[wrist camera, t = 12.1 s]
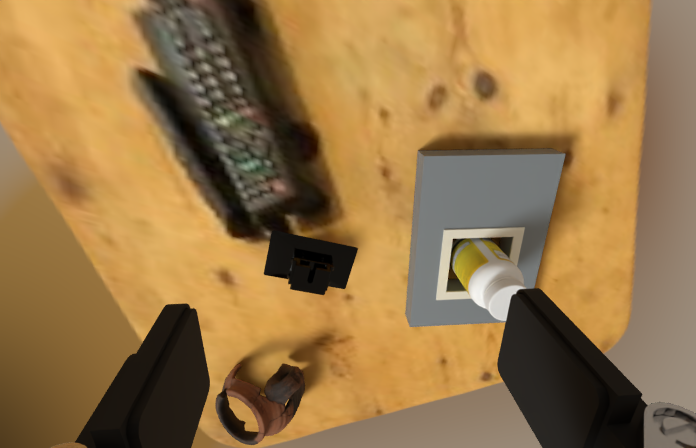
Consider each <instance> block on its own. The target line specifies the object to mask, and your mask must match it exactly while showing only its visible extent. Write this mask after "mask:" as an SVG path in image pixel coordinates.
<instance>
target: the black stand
mask: <svg viewBox="0 0 696 448" xmlns="http://www.w3.org/2000/svg"><path fill="white" fill-rule="evenodd" d="M357 250H358V248H356V247H351V246H346V245H341V244H337V243H332V242H327V241H322V240H317V239H312V238H307V237H303V236H298V235H293V234H288V233H283V232H278V231H272V234H271V239H270V244H269V250H268V255H267V260H266V265H265V270H264V275H268V276H274V277H279V278H285V279H289V280H288V284H291V286H290V289H292V290H297V291H303V292H309V293H314V294H320V295H325V291H327V288H328V286H330V287H336V288H341V289H345V288H346V285H347V282H348V278H349V275H350V272H351V269H352V266H353V263H354V260H355V256H356V253H357Z"/></svg>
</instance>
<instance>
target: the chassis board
mask: <svg viewBox="0 0 696 448" xmlns="http://www.w3.org/2000/svg"><path fill="white" fill-rule="evenodd" d="M564 159H565V153H562V152H560V151H557V150H554V149H552V148H548V149H485V150H422V151H418V156H417V169H416V182H415V195H414V209H413V222H412V235H411V248H410V261H409V274H408V287H407V300H406V313H405V314H406V317H407V320H408V323H409V326H410V327H419V326H439V325H459V324H479V323H499V322H506V321H501V320H498V319H496V318H494V317H493V316H492V315H491V314H490V312H489V311H488V310H487V309H485V308H483V307H480V306H479V305H477V304H476V303H475V302H474V301H473V300H472V298H471V297H470V295H469V294H468V292H467V291H466V289H465V288H464V286H463V285H462V283H461V282H460V280H459V279H448V273H449V265H450V257H451V249H452V241H453V239H460V238H490V237H501V240H500V245H499V248H500V249H501V250H502V251H503V252H504V253H505V254H506V255H507V256H508V258H509V259H510V260H511V261H512V262H513V263H514V264H515V265H516V266H517V267H518V268H519V269H520V271H521V273H522V275H523V279H524V286H525V287H526V288H527V289H532V288H534V287H535V282H536V278H537V274H538V270H539V265H540V261H541V257H542V253H543V248H544V244H545V240H546V235H547V231H548V227H549V223H550V218H551V214H552V210H553V206H554V201H555V197H556V193H557V188H558V184H559V180H560V176H561V171H562V167H563V163H564Z"/></svg>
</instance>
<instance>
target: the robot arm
mask: <svg viewBox="0 0 696 448" xmlns="http://www.w3.org/2000/svg"><path fill="white" fill-rule="evenodd" d="M497 364H498V371H499V373H500V376H501V377H502V379H503V381H504V382H505V384H506V386H507V387H508V389H509V391H510V393H511V394H512V396H513V397H514V400H515V401H516V403H517V405H518V406H519V408H520V410H521V411H522V413H523V415H524V417H525V418H526V420H527V422H528V424H529V425H530V427H531V429H532V431H533V432H534V434H535V435H536V437H537V439H538V441H539V443H540V444H541V446H542V448H696V413H694V412H692V411H690V410H687V409H685V408H683V407H680V406H677V405H674V404H671V403H663V402H657V403H651V404H650V405H647V404H646V403H645V402H644V401H643V400H642V399H641V396H642V393H641V392H640V391H639V390H638V389H637V388H636V387H635V386H634V385H633V384H632V383H631V382H630V381H629V380H628V379H627V378H626V377H625V376H624V375H623V374H622V373H621V372H620V371H619V370H618V368H617V367H616V366H615V365H614V364H613V363H612V362H611V361H610V360H609V359H608V358H607V357H606V356H605V355H604V354H603V353H602V352H601V351H600V350H599V349H598V348H597V347H596V346H595V345H594V344H593V343H592V342H591V341H590V340H589V339H588V338H587V337H586V335H585V334H584V333H583V332H582V331H581V330H580V329H579V328H578V327H577V326H576V325H575V324H574V323H573V322H572V321H571V320H570V319H569V318H568V317H567V316H566V315H565V314H564V313H563V312H562V311H561V310H560V309H559V308H558V307H557V306H556V305H555V304H554V302H553V301H552V300H551V299H550V298H549V297H548V296H547V295H546V294H545V293H544V292H543V291H542V290H540V289H538V288H532V289H519V290H518V291H517V292H516V294H513V295H512V296H511V300H510V304H509V309H508V314H507V319H506V324H505V329H504V333H503V338H502V343H501V348H500V353H499V357H498V363H497ZM209 387H210V379H209V373H208V368H207V363H206V358H205V352H204V347H203V342H202V337H201V331H200V326H199V321H198V316H197V311H196V309H194V308H193V309H190V306H189V305H188V304H168V305H166V306H165V307H164V308H163V310H162V312H161V313H160V315H159V317H158V318H157V320H156V322H155V323H154V325H153V326H152V328H151V330H150V331H149V333H148V335H147V336H146V338H145V340H144V341H143V343H142V345H141V347H140V348H139V350H138V352H137V353H136V354H132V355H130V356H129V357H128V358H127V360H126V361H125V363H124V364H123V366H122V368H121V369H120V371H119V372H118V374H117V376H116V377H115V379H114V380H113V382H112V384H111V386H110V387H109V388H108V390H107V392H106V393H105V395H104V397H103V398H102V400H101V401H100V403H99V404H98V406H97V408H96V409H95V411H94V412H93V414H92V416H91V417H90V419H89V421H88V422H87V424H86V425H85V427H84V429H83V430H82V432H81V433H80V435H79V437H78V438H77V440H76V441H75V443H64V444H60V445H55V446H53V447H51V448H191V446H192V443H193V440H194V437H195V433H196V430H197V427H198V424H199V421H200V418H201V415H202V411H203V408H204V405H205V402H206V399H207V396H208V392H209Z"/></svg>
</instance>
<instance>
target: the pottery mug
mask: <svg viewBox="0 0 696 448" xmlns="http://www.w3.org/2000/svg"><path fill="white" fill-rule="evenodd" d="M240 368H241V364H238V365H236V366H235V367H234V369H232V371H231V372H230V374H229V375H228V376H227V378H226V379H225V383H224V385H223V390H222V392H221V393H220V394H218V395H217V398H216V411H217V414H218V417H219V419H220V422H221V423H222V425H223V426H224V428H225V429H226V430H227V432H228V433H229V434H230V435H231V436H232V437H234V438H235V439H236V440H238V441H240V442H241V443H244V444H247V445H255V444H258V443H259V442H260V441H262V439H263V438H264V436H272V435H274V434H277V433H279V432H280V431H281V430H283V429H284V428H285V427H286V426H287V424H288V423H289V422H290V421H291V420H292V418H293V417H294V415H295V413H296V411H297V408H298V407H299V404H300V401H301V398H302V395H303V393H304V390H305V382H304V375H303V372H302V370H300V369H299V368H298V367H295V366H290V365H287V364H282V365H281V366H280V368H279V370H278V371H277V373H275V374H274V375H273V376H272V377H271V378H270V379H269V380H268V382H267V384H266V387H265V390H264V392H265V395H266V397H264V396H262V395H260V391H261V388H259V387H256V386H254V385H252V384H251V383H248V382H244V381H242V380H240V379H235V376H236V374H237V372H238V371H239V369H240ZM227 395H228V396H231V397H235V398H238V399H239V400H241V401H242V402H244V403H245V404H246V405H247V406H248V407H249V408H250V409H251V410H252V412H253V414H254V415H255V417H256V420H257V422H258V426H259V432H250V431H245V428H244V425H245V422H244V421H241V420H239V419H238V418H236V416H235V414H234V413H233V411H232V410H231V409H230V408H229V401H228V398H227ZM288 399H289V401H288V403H287V405H286V407H285V403H286V402H287V400H288Z"/></svg>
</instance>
